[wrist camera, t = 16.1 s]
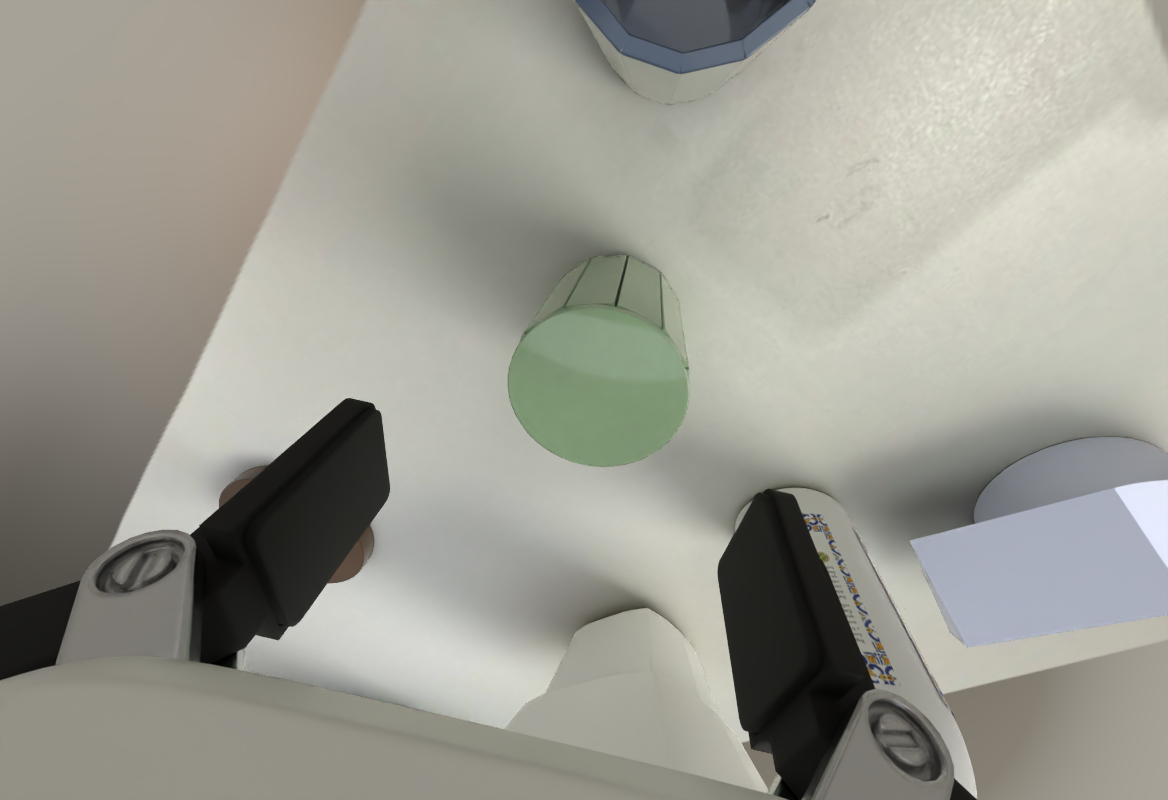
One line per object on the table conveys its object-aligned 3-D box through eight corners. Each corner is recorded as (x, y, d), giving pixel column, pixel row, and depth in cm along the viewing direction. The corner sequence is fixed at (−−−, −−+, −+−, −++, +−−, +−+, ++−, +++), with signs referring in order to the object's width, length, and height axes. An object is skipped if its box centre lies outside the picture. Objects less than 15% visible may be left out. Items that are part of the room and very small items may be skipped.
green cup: (526, 302, 23) (471, 368, 16) (634, 226, 20) (623, 267, 13) (596, 396, 25) (575, 489, 18) (701, 340, 22) (722, 424, 16)
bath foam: (712, 533, 29) (790, 1061, 12) (776, 466, 26) (1011, 1081, 9) (797, 571, 30) (981, 1121, 13) (871, 511, 27) (1256, 1160, 10)
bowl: (486, 605, 38) (409, 814, 26) (673, 528, 30) (685, 780, 18) (611, 705, 44) (595, 912, 32) (795, 664, 36) (864, 920, 24)
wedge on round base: (921, 584, 29) (1179, 528, 24) (986, 691, 23) (1342, 647, 18) (881, 497, 26) (1170, 410, 21) (945, 596, 20) (1365, 509, 15)
